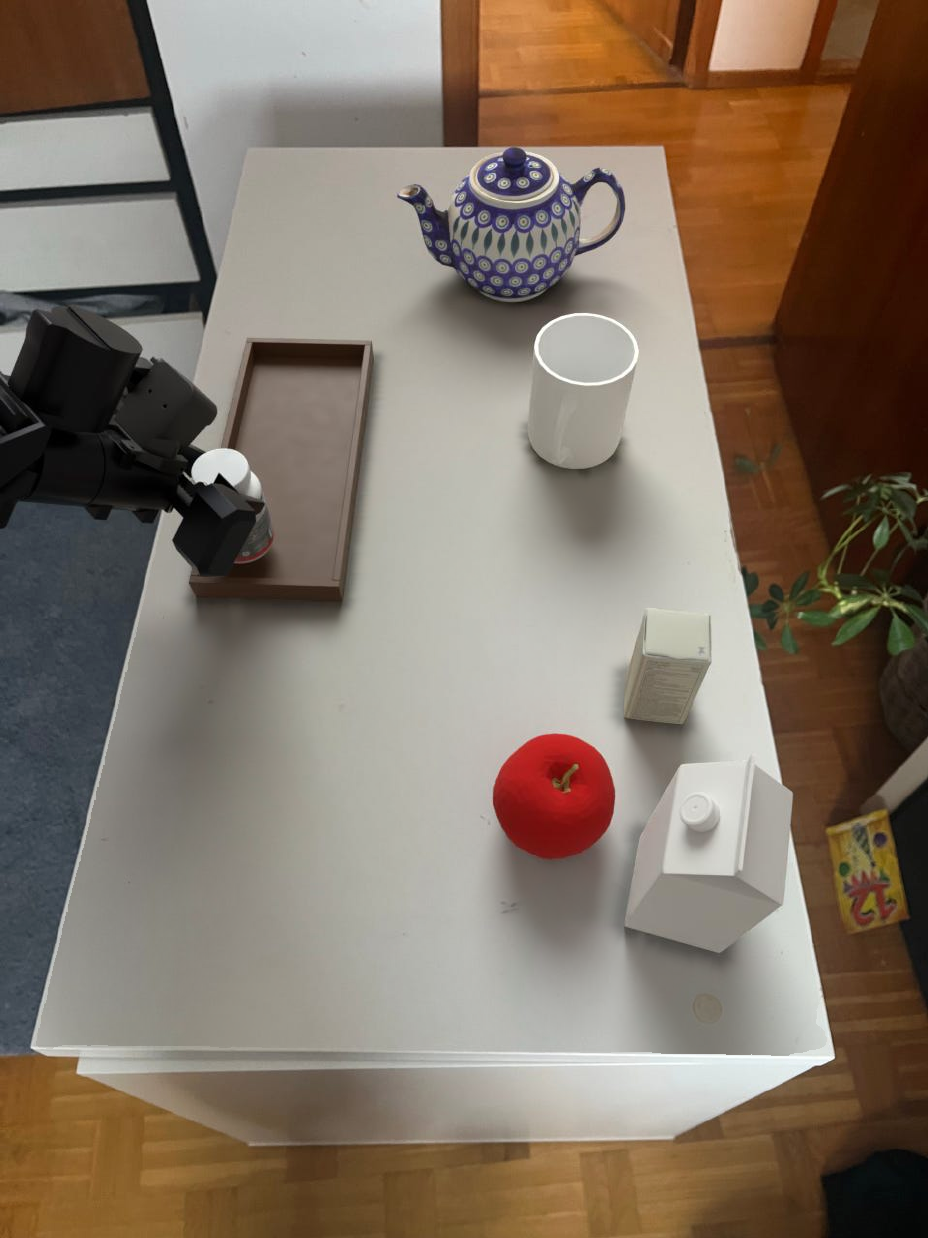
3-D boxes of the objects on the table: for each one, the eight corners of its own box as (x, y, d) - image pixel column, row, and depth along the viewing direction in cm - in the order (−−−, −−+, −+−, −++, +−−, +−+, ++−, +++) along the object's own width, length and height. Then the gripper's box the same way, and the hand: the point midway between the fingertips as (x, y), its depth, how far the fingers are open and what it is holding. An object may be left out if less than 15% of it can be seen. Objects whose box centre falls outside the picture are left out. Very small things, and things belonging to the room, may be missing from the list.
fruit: (580, 893, 66) (597, 855, 58) (472, 841, 68) (473, 797, 60) (624, 788, 70) (646, 738, 62) (521, 742, 72) (529, 687, 64)
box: (684, 681, 75) (715, 613, 66) (683, 726, 73) (715, 664, 64) (622, 673, 76) (645, 605, 66) (620, 718, 74) (642, 654, 64)
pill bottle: (200, 549, 80) (169, 477, 72) (238, 507, 83) (213, 433, 74) (250, 575, 79) (225, 505, 70) (288, 532, 81) (268, 459, 73)
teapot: (607, 230, 107) (626, 106, 94) (625, 312, 99) (648, 190, 87) (402, 236, 107) (393, 113, 94) (404, 320, 99) (394, 198, 86)
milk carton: (731, 860, 67) (815, 769, 51) (719, 954, 64) (806, 888, 48) (639, 836, 68) (693, 738, 52) (623, 927, 65) (675, 853, 49)
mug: (619, 406, 92) (638, 316, 82) (619, 496, 86) (639, 410, 76) (529, 400, 92) (537, 309, 82) (522, 489, 86) (529, 402, 76)
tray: (342, 602, 80) (339, 586, 77) (195, 597, 80) (188, 582, 78) (373, 358, 96) (371, 340, 94) (251, 355, 96) (246, 337, 94)
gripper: (201, 443, 56) (354, 470, 69) (56, 298, 63) (220, 348, 76) (132, 581, 60) (290, 582, 73) (2, 430, 67) (168, 456, 80)
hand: (241, 486), depth 76 cm, fingers closed on pill bottle, 6 cm apart
